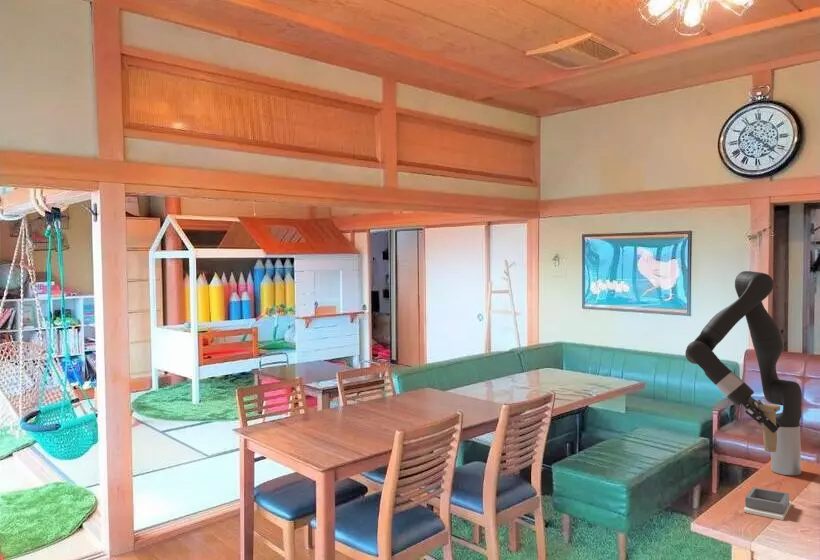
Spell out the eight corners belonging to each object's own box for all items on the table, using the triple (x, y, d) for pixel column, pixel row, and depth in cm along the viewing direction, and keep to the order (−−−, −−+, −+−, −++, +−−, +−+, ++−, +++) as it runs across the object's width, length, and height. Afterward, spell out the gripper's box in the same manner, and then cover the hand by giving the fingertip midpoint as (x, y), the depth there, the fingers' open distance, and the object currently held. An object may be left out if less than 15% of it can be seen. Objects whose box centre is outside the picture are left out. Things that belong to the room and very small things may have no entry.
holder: (753, 497, 196) (753, 485, 196) (791, 504, 189) (790, 491, 189) (743, 512, 184) (743, 499, 184) (783, 520, 178) (782, 506, 178)
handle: (784, 452, 197) (783, 406, 196) (768, 454, 195) (766, 408, 195) (772, 448, 201) (771, 403, 201) (756, 450, 200) (755, 405, 200)
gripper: (738, 385, 197) (782, 427, 190) (747, 378, 208) (790, 417, 200) (721, 399, 201) (763, 441, 193) (731, 392, 212) (772, 431, 204)
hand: (776, 429), depth 197 cm, fingers closed on handle, 3 cm apart
